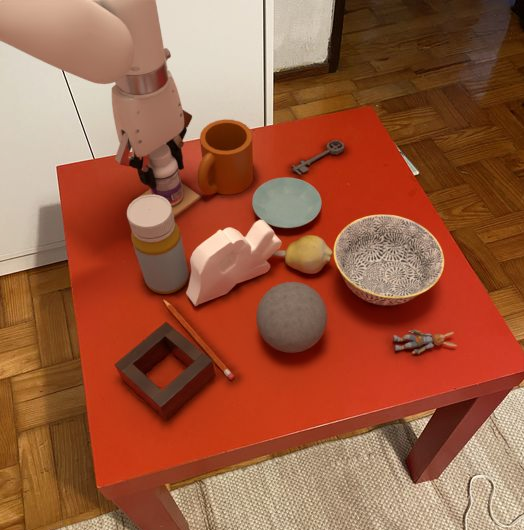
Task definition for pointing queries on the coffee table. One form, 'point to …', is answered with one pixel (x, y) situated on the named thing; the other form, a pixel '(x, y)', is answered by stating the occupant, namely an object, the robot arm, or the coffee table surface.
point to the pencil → (199, 341)
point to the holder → (151, 354)
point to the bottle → (158, 244)
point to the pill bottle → (166, 175)
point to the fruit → (307, 254)
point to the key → (329, 150)
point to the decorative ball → (291, 317)
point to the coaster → (185, 202)
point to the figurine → (421, 341)
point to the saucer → (286, 202)
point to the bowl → (388, 259)
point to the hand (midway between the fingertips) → (162, 174)
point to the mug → (225, 158)
